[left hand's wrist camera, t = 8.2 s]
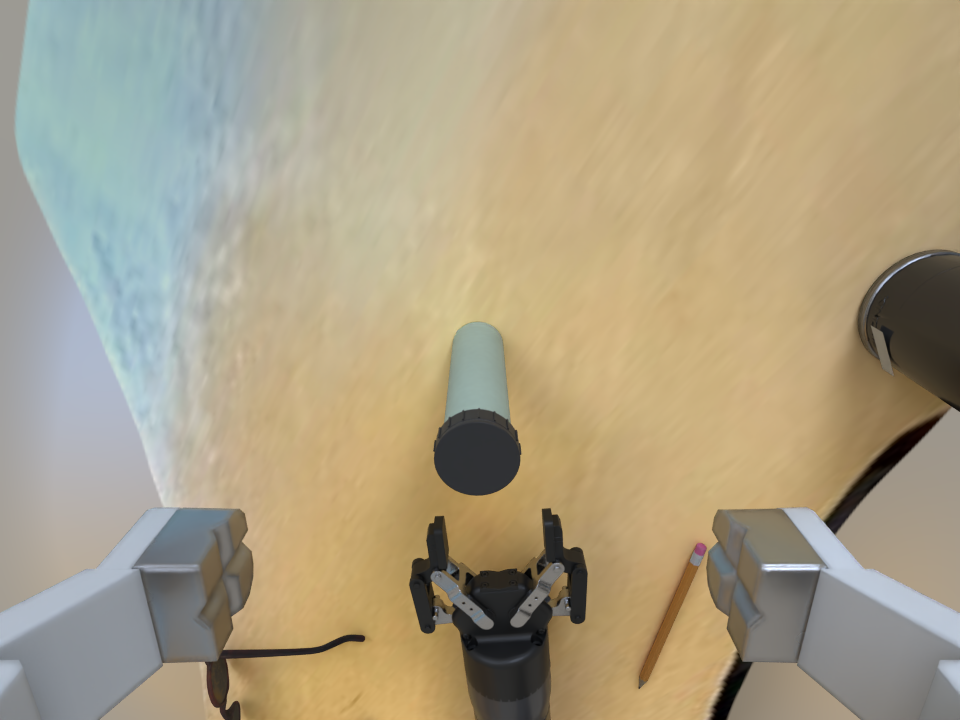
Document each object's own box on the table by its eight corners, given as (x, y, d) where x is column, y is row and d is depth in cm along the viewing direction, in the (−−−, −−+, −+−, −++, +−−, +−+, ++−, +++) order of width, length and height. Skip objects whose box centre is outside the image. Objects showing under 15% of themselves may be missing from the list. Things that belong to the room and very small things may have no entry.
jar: (459, 373, 50) (451, 492, 35) (447, 327, 48) (432, 432, 33) (508, 362, 49) (520, 478, 35) (496, 316, 48) (504, 417, 33)
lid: (446, 487, 36) (445, 504, 35) (424, 417, 34) (422, 431, 33) (527, 471, 36) (529, 487, 34) (509, 399, 34) (510, 412, 32)
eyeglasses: (214, 630, 61) (193, 674, 56) (364, 627, 61) (355, 671, 56) (241, 730, 67) (223, 777, 62) (377, 728, 66) (370, 775, 62)
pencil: (694, 542, 56) (632, 686, 64) (703, 550, 55) (638, 694, 63) (701, 540, 57) (638, 683, 64) (709, 548, 56) (645, 691, 63)
